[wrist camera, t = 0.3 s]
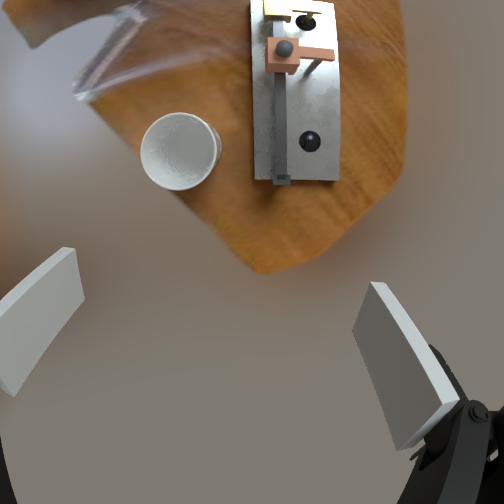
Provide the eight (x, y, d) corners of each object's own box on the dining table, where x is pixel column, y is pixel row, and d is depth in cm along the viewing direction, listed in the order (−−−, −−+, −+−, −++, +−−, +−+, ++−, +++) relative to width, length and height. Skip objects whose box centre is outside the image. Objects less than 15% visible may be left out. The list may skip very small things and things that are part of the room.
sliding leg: (263, 58, 27) (266, 33, 19) (316, 60, 27) (336, 38, 19) (264, 79, 29) (267, 60, 20) (317, 81, 29) (338, 65, 20)
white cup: (233, 125, 33) (225, 121, 24) (218, 181, 36) (205, 198, 27) (176, 113, 32) (149, 107, 23) (163, 169, 35) (134, 181, 26)
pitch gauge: (250, 2, 25) (250, -20, 19) (330, 7, 25) (343, -12, 19) (254, 177, 36) (255, 186, 30) (335, 178, 35) (351, 188, 29)
